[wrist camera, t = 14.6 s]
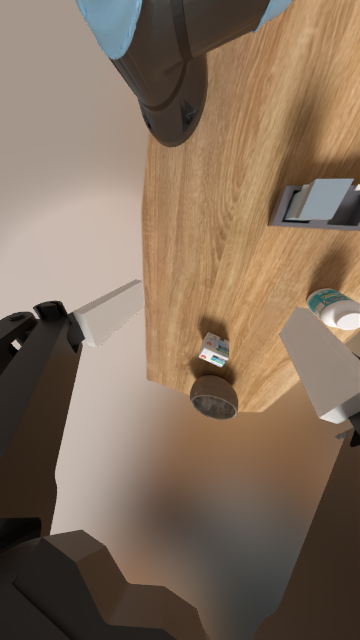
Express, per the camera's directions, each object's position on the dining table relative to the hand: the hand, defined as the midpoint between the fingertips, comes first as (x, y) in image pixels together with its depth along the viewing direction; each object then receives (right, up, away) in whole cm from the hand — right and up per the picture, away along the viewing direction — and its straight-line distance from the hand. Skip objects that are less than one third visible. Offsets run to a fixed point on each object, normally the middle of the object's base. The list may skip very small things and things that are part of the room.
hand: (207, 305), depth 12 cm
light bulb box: (+14, -11, +51) cm, 54 cm away
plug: (+26, +26, +21) cm, 42 cm away
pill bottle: (+42, +5, +30) cm, 51 cm away
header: (+30, +25, +21) cm, 44 cm away
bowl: (+18, -38, +67) cm, 79 cm away
